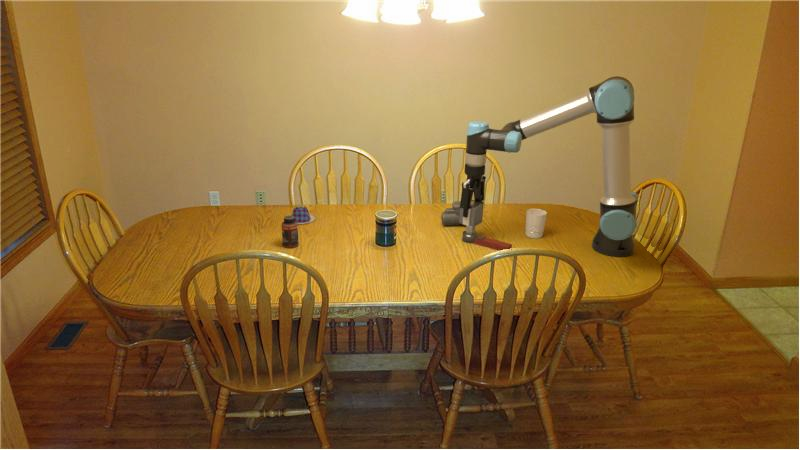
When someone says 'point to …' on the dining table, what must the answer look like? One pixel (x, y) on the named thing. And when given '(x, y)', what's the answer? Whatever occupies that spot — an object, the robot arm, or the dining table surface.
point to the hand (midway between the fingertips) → (470, 221)
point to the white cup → (535, 222)
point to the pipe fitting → (451, 215)
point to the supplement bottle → (290, 232)
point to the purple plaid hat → (302, 215)
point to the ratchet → (483, 240)
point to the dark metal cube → (474, 213)
